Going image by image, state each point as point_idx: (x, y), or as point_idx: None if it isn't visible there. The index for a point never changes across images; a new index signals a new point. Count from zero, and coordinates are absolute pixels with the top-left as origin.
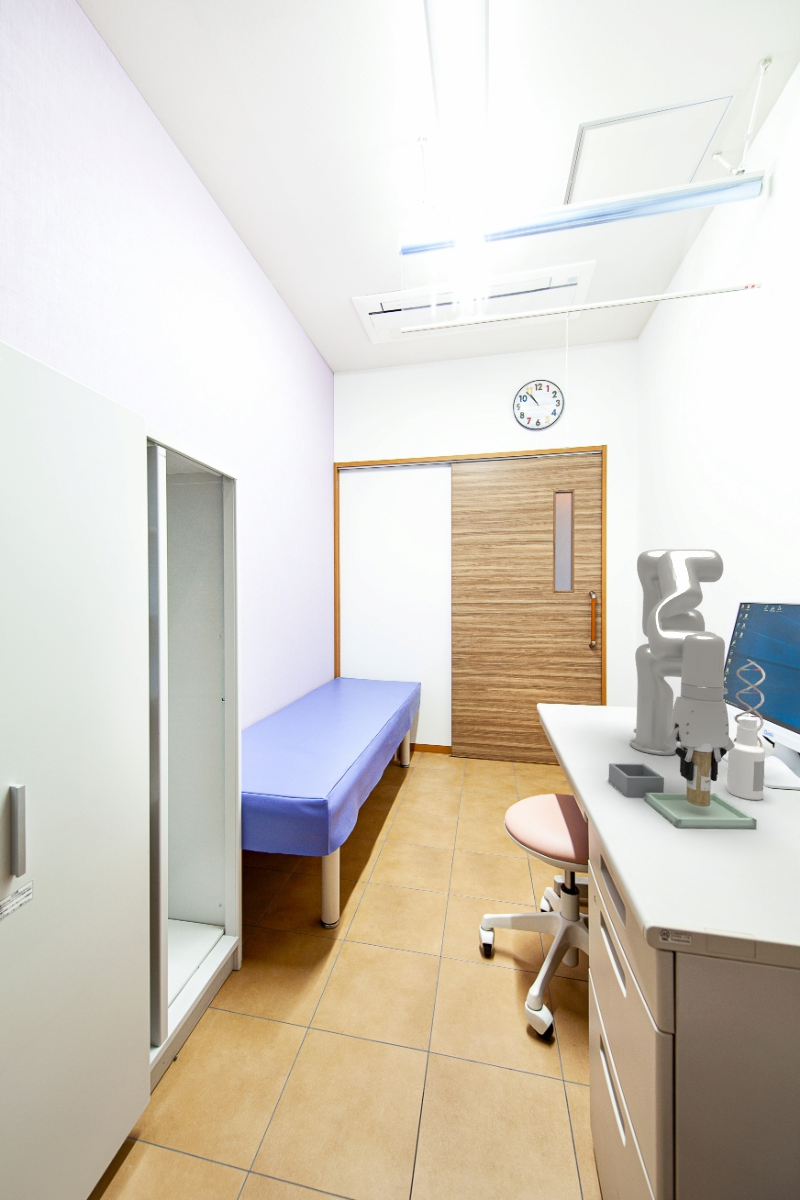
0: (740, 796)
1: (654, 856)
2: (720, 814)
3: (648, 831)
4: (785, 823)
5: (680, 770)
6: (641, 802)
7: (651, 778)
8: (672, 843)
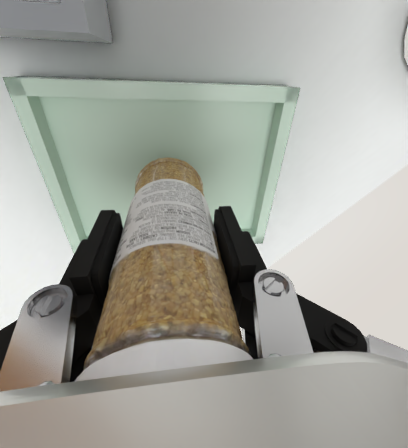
0: (406, 54)
1: (5, 316)
2: (220, 192)
3: (6, 255)
4: (341, 206)
5: (81, 245)
6: (6, 92)
7: (9, 28)
8: (50, 285)
